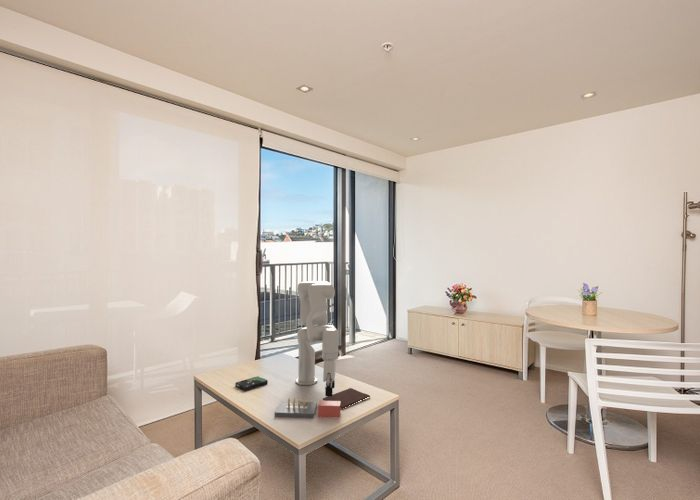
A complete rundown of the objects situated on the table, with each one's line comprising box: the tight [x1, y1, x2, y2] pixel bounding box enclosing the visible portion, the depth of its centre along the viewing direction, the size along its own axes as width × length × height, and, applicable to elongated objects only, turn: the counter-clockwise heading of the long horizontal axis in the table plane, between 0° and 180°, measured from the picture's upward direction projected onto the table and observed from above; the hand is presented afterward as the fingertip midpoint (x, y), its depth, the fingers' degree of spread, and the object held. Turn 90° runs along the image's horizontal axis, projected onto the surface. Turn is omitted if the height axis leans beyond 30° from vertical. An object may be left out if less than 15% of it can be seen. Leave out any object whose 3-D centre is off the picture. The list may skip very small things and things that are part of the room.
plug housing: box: [317, 400, 342, 418], centre depth 165 cm, size 5×10×6 cm, turn 87°
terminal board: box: [274, 397, 318, 419], centre depth 167 cm, size 12×18×6 cm, turn 87°
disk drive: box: [234, 375, 269, 392], centre depth 199 cm, size 10×3×15 cm
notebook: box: [322, 387, 371, 410], centre depth 182 cm, size 15×20×2 cm
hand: (330, 392), depth 164 cm, fingers open, 9 cm apart
